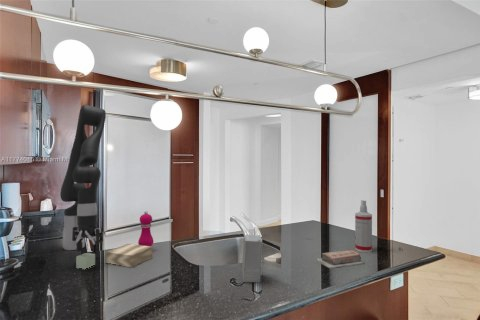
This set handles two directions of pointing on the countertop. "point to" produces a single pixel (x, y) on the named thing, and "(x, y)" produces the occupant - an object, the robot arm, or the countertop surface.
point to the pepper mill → (146, 230)
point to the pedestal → (129, 255)
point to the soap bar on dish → (340, 259)
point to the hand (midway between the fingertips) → (87, 252)
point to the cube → (85, 260)
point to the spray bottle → (363, 229)
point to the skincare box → (252, 258)
